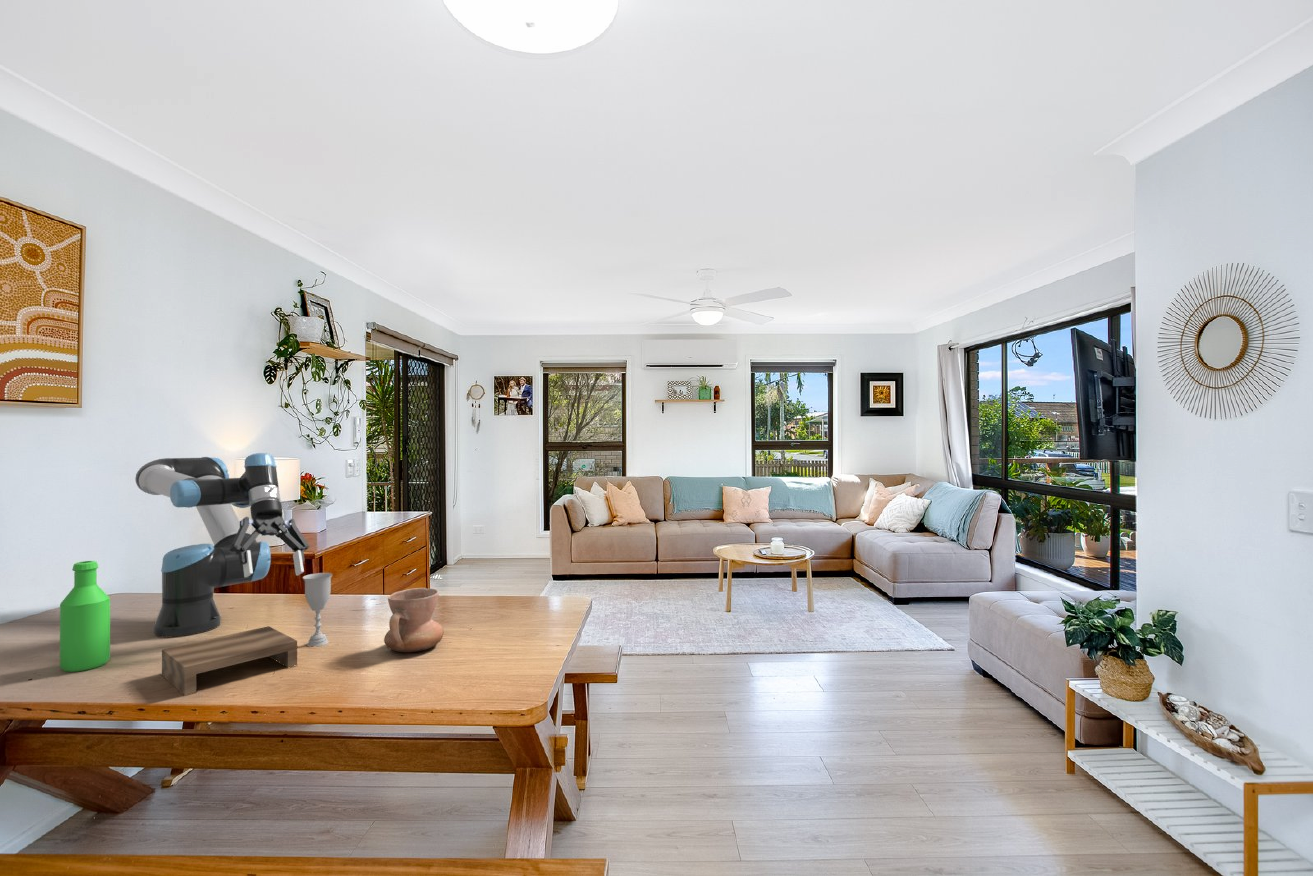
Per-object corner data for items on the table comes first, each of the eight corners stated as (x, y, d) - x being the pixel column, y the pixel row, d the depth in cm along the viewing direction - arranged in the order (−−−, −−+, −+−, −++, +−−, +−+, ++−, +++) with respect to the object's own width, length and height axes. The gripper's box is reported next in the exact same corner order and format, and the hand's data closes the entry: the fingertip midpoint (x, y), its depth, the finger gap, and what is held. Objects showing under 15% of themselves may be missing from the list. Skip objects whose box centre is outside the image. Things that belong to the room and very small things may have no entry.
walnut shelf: (161, 675, 141) (161, 649, 141) (268, 649, 158) (268, 626, 158) (184, 695, 130) (184, 667, 130) (297, 665, 147) (297, 640, 147)
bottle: (66, 676, 141) (66, 567, 141) (54, 668, 145) (54, 563, 145) (116, 664, 148) (115, 560, 148) (102, 657, 153) (102, 557, 153)
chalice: (318, 649, 159) (318, 579, 159) (296, 647, 160) (296, 578, 160) (338, 639, 166) (338, 573, 166) (317, 638, 167) (317, 572, 167)
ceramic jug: (410, 634, 170) (409, 584, 170) (457, 638, 167) (456, 586, 166) (365, 659, 153) (364, 602, 152) (416, 663, 149) (415, 605, 149)
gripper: (224, 495, 163) (232, 570, 155) (315, 501, 184) (327, 567, 176) (209, 507, 166) (217, 581, 158) (301, 512, 187) (311, 577, 179)
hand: (275, 574), depth 167 cm, fingers open, 13 cm apart
